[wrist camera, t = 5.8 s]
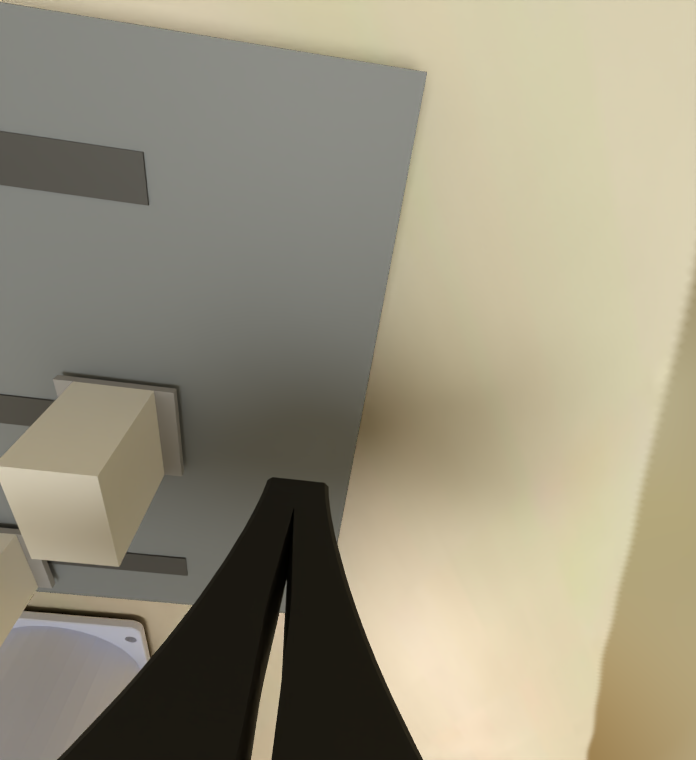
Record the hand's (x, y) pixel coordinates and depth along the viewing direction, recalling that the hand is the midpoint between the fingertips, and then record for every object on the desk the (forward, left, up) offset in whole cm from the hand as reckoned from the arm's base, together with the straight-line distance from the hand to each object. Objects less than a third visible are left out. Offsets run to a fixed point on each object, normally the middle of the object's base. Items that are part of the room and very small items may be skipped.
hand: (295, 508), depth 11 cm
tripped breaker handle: (0, +5, -2) cm, 6 cm away
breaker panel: (0, +8, -4) cm, 9 cm away
